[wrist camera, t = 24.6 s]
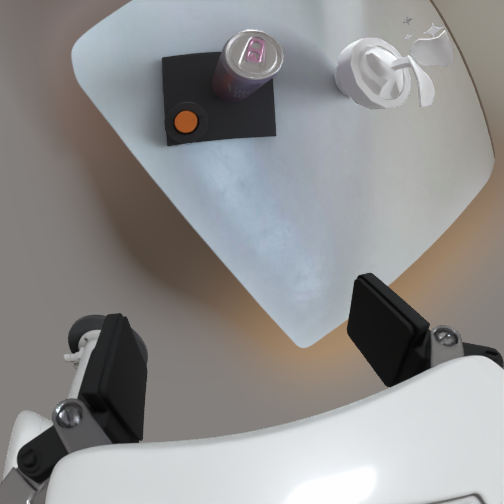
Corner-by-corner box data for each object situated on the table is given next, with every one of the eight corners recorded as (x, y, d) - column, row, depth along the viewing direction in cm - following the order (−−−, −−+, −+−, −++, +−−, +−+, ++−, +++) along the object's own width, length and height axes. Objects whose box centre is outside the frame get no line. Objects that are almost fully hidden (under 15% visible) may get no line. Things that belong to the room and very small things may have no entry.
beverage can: (256, 70, 33) (290, 36, 20) (248, 106, 35) (280, 87, 22) (216, 63, 32) (229, 22, 18) (208, 99, 34) (217, 74, 20)
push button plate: (168, 146, 37) (166, 146, 34) (163, 60, 31) (160, 54, 28) (273, 136, 39) (279, 135, 37) (268, 53, 34) (273, 48, 31)
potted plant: (334, 39, 34) (437, -8, 11) (383, 76, 38) (493, 64, 15) (305, 92, 37) (417, 60, 15) (360, 128, 41) (479, 138, 19)
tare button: (176, 134, 34) (175, 133, 32) (174, 113, 33) (173, 112, 31) (197, 131, 34) (198, 130, 33) (196, 111, 33) (196, 109, 32)
